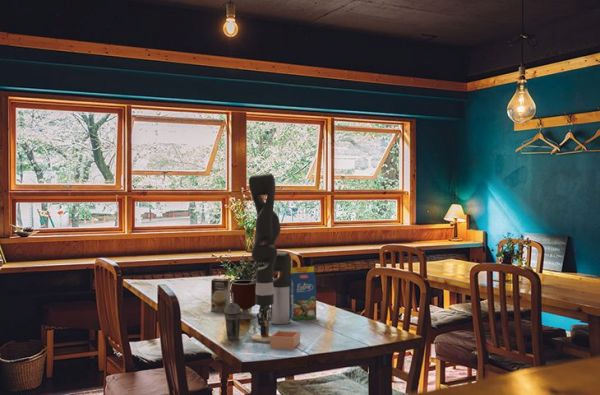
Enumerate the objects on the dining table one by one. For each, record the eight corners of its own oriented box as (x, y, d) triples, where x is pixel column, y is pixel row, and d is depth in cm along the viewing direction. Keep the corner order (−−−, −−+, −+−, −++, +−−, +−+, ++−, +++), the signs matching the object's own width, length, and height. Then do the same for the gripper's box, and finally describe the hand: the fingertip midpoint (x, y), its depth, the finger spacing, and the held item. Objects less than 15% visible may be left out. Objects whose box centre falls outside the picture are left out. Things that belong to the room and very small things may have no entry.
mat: (254, 335, 257) (254, 333, 257) (285, 337, 254) (285, 335, 254) (243, 343, 244) (243, 342, 244) (275, 345, 240) (275, 344, 240)
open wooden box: (277, 342, 245) (277, 330, 245) (300, 344, 242) (300, 331, 242) (270, 348, 236) (270, 336, 235) (293, 350, 233) (293, 337, 233)
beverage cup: (242, 337, 253) (242, 291, 252) (241, 342, 245) (240, 294, 245) (225, 338, 252) (224, 291, 252) (223, 342, 245) (223, 294, 245)
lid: (256, 334, 255) (256, 318, 255) (281, 336, 253) (281, 319, 252) (248, 341, 245) (247, 324, 244) (273, 343, 242) (273, 325, 242)
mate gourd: (225, 317, 292) (225, 277, 291) (240, 312, 304) (240, 273, 303) (252, 321, 284) (251, 279, 284) (267, 315, 297) (266, 275, 296)
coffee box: (210, 311, 306) (210, 280, 306) (213, 308, 313) (213, 278, 313) (228, 311, 306) (227, 280, 305) (230, 309, 312) (230, 278, 312)
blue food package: (316, 318, 289) (316, 267, 289) (293, 320, 285) (293, 268, 284) (311, 316, 295) (311, 265, 294) (288, 318, 291) (288, 267, 290)
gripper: (261, 289, 256) (261, 329, 256) (250, 295, 242) (250, 337, 243) (278, 290, 254) (278, 330, 254) (268, 296, 240) (268, 338, 241)
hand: (264, 333), depth 248 cm, fingers closed on lid, 3 cm apart
